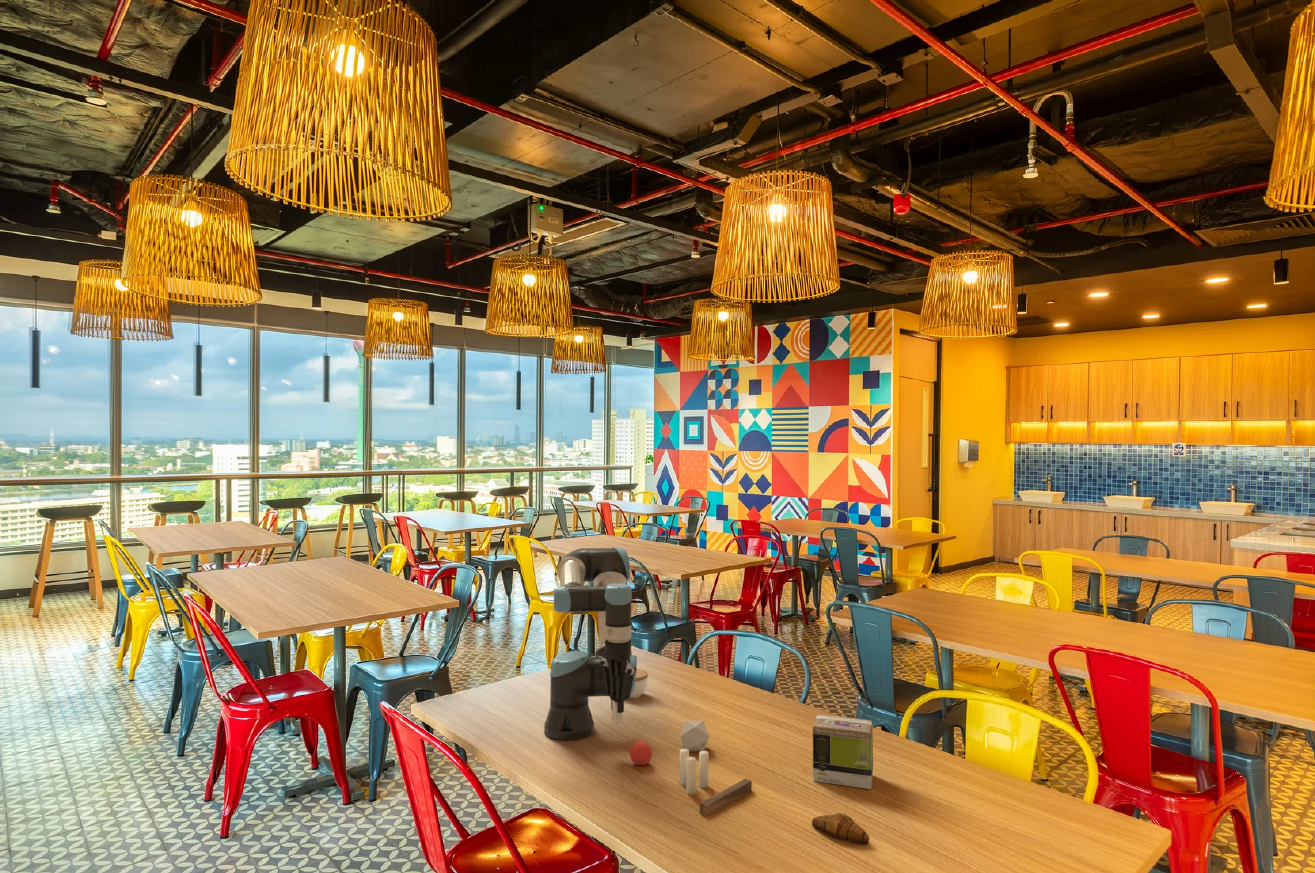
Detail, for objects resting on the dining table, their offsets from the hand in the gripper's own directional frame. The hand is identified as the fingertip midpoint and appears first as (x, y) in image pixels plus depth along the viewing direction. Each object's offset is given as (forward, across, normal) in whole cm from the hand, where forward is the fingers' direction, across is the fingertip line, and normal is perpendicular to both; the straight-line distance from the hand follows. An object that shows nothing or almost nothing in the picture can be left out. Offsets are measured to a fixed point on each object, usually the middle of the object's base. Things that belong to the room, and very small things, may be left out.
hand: (617, 722), depth 208 cm
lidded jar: (+9, -32, +37) cm, 50 cm away
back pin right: (+9, +30, -2) cm, 31 cm away
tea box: (+9, +53, +32) cm, 63 cm away
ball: (+6, +9, 0) cm, 11 cm away
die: (+9, +13, +18) cm, 24 cm away
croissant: (+10, +67, +6) cm, 68 cm away
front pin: (+9, +25, 0) cm, 27 cm away
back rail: (+9, +39, 0) cm, 40 cm away
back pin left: (+9, +30, +3) cm, 31 cm away
